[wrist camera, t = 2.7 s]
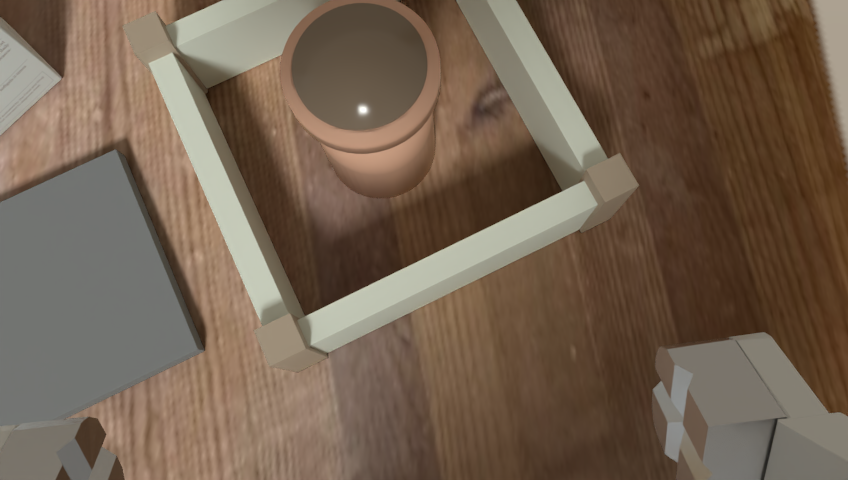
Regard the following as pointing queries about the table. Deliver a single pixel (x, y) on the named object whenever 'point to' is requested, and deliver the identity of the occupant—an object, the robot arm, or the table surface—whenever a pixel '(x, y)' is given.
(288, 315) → the raised garden bed frame
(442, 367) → the table surface
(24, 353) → the rubber mat
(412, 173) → the terracotta pot
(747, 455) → the robot arm
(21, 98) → the supplement box
